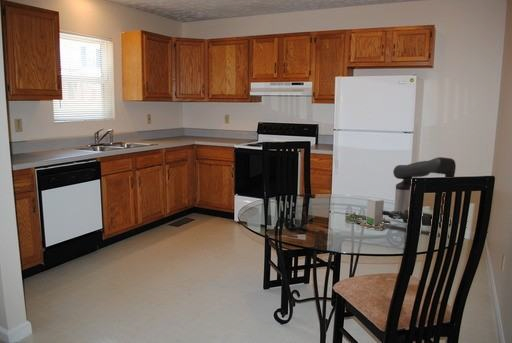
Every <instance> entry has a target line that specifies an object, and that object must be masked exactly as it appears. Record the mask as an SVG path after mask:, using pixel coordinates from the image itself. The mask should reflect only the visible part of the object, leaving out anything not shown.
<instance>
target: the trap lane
mask: <svg viewBox="0 0 512 343" xmlns="http://www.w3.org/2000/svg"><path fill="white" fill-rule="evenodd" d="M352 218H362V219H366V215H362V214H357V213H356V211H353V212H351V213H349V214H347V215H345V222H346V221H347V222H346V223H348V222H354V223H360V225H359V227H360V226H362V227H367V228H374V229H378V230H377V231H380V230H379V229H381V228H383V229H385V224H383V223H382V224H381V225H378V226H373V225H370V224H367V223H366V220H359V219H352ZM382 222H384V223H390V224H391V220H387V219H386V217H384V216H383V220H382ZM354 223H353V224H354ZM362 227H361V228H362ZM367 228H366V229H367ZM381 230H382V229H381Z"/></svg>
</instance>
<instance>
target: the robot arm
mask: <svg viewBox="0 0 512 343" xmlns="http://www.w3.org/2000/svg"><path fill="white" fill-rule="evenodd" d="M456 166H457V165H456V160H454V159H453V158H451V157H450V158H449V157H443V156H442V157H441V156H439V157H435V158H433V159H430V160H423V161H417V162H413V163H409V164H399V165H396V166H395V167H394V168H393V176H394V177H395V178H396V179H398V180H402V181H400V182H399V183H396V184H395V195H394V210H392V211H386V210H383V213H382V214H383V216H388V218H391V219H393V220H396V219H397V220H402V222H403V223H404V224H408V223H407V219H408V207H409V208H410V202H409V196H410V197H411V187H412V184H411V179H412V180H413V178H421V177H423V178H424V177H427V176H428V175H430V174H437V175H438V174H439V175H444V178H445V177H454V178H455V174H456ZM444 197H445V193H443V196H442V205H441V213H440V222H439V228H438V229H442V228H441V222H442V215H443V204H444ZM422 213H423V216H422V225H421V226H423V227H424V226H426V227H432V226H431V219H432V215H433V214H430V213H427V212H422ZM451 226H452V220H451V219H450V224H449V228H451Z"/></svg>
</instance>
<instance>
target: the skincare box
mask: <svg viewBox="0 0 512 343" xmlns="http://www.w3.org/2000/svg"><path fill="white" fill-rule="evenodd" d="M366 201H367V202H366V212H365V213H366V215H365V216H366V220H365V222H368V223H370V224H373V225H378V226H380V224H383V223H382V220H383V217H384V215H383V214H382V213H383V211H384V203H385V200H383V199H381V198H379V197H378V198H377V197H367V199H366ZM368 223H367V224H368ZM370 224H369V225H370ZM373 225H372V226H373Z"/></svg>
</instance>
